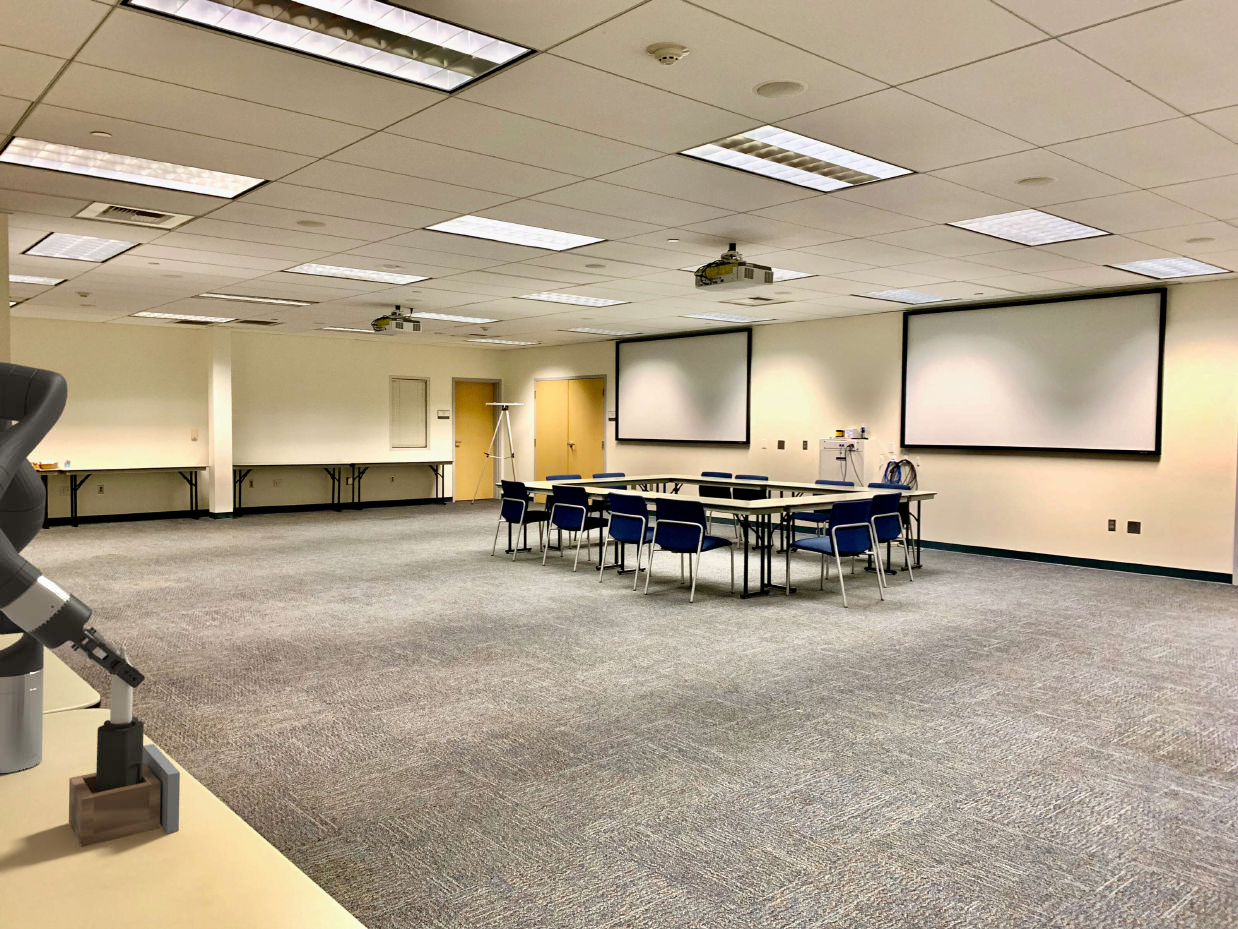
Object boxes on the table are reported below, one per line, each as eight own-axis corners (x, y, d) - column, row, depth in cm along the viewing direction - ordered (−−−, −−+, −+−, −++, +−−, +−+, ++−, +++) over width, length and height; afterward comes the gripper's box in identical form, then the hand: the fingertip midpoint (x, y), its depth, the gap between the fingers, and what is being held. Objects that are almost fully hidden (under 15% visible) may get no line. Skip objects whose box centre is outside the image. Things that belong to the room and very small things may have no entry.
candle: (120, 815, 130) (124, 651, 130) (91, 811, 131) (95, 648, 131) (145, 802, 135) (149, 644, 135) (117, 798, 136) (121, 641, 136)
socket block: (68, 822, 133) (69, 777, 133) (143, 805, 140) (144, 763, 140) (81, 847, 125) (82, 799, 125) (159, 827, 132) (160, 782, 132)
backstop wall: (141, 799, 142) (142, 745, 142) (152, 797, 143) (153, 743, 143) (167, 833, 130) (168, 774, 130) (178, 830, 131) (179, 772, 131)
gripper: (76, 597, 123) (168, 670, 131) (60, 584, 133) (146, 652, 141) (30, 639, 119) (127, 711, 127) (18, 621, 130) (108, 689, 138)
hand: (136, 680), depth 134 cm, fingers closed on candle, 3 cm apart
